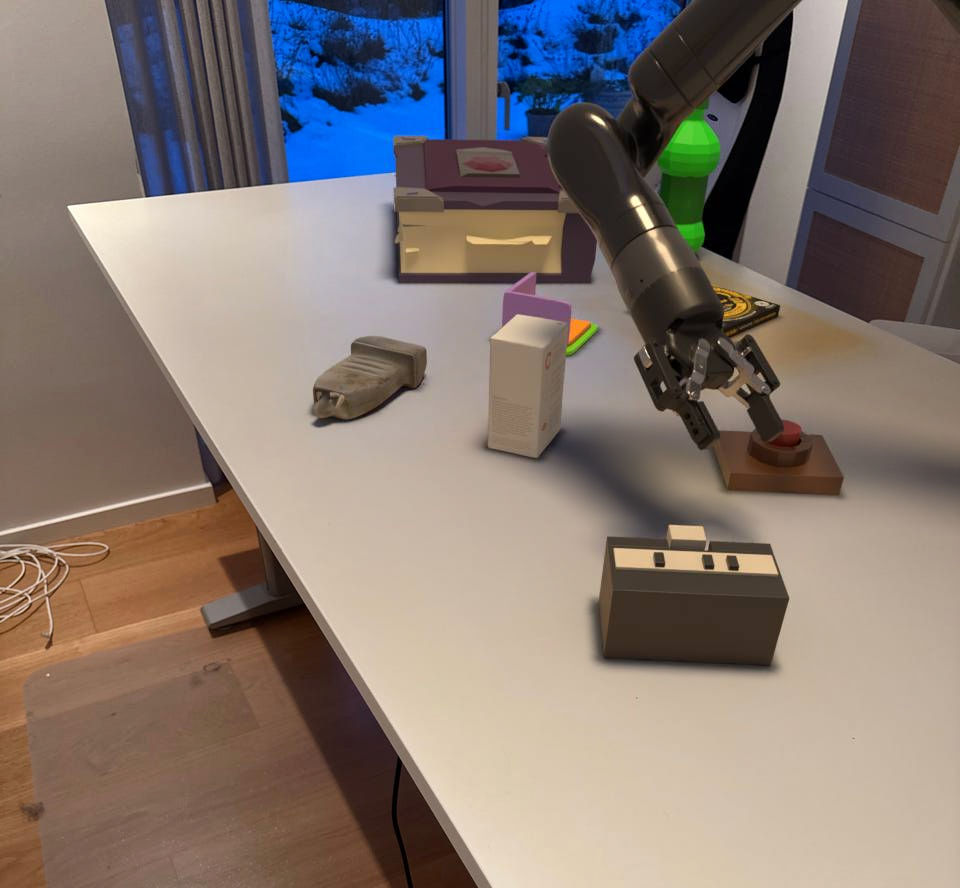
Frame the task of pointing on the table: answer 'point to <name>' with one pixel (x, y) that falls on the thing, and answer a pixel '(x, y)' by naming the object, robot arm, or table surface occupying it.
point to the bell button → (788, 435)
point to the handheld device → (368, 376)
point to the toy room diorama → (545, 311)
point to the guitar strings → (743, 311)
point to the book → (485, 214)
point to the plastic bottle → (689, 174)
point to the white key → (686, 537)
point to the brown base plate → (777, 464)
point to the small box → (526, 384)
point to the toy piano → (691, 601)
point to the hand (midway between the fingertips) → (744, 440)
